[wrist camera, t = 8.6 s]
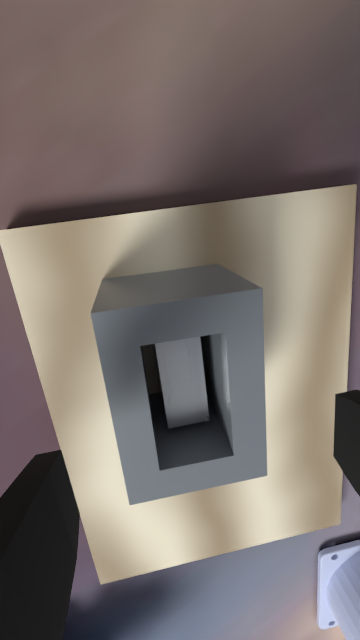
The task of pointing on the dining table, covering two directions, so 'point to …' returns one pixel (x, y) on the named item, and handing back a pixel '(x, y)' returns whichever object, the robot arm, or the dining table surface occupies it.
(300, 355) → the shaft board
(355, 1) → the dining table surface
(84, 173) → the dining table surface
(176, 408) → the key shaft
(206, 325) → the grey hollow rectangular block
